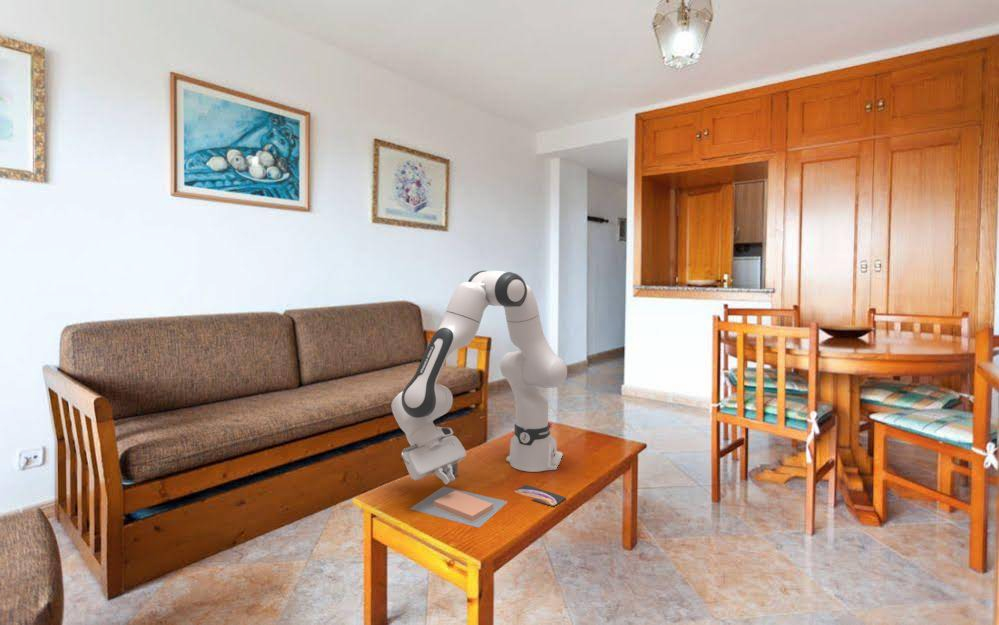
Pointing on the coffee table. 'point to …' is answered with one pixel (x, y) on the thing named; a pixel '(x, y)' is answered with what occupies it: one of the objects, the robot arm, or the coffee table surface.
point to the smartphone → (540, 495)
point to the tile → (463, 506)
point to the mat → (428, 508)
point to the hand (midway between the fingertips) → (450, 481)
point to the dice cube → (453, 469)
